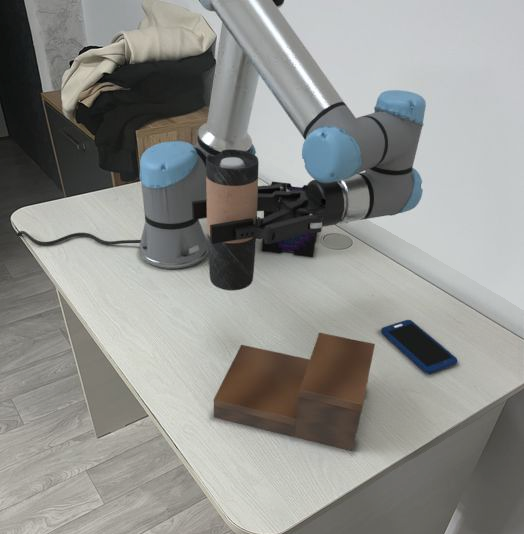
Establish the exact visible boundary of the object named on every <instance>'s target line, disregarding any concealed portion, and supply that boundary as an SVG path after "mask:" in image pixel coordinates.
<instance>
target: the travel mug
mask: <svg viewBox="0 0 524 534" xmlns="http://www.w3.org/2000/svg"><path fill="white" fill-rule="evenodd" d="M258 186H259V158H258V156H257V155H256V154H255V155H254V154H252V153H250V152H247V151H242V150H234V149H228V150H223V151H222V152H221V153H220V154H218V155H215V156H211V155H210V154H209V155H208V156H207V158H206V191H207V218H206V235H207V236H206V237H207V238H206V239H207V244H208V253H207V256H208V269H209V280H210V282H211V284H212V285H213V286H214V287H216V288H217V289H221V290H224V291H240V290H243V289H246V288H248V287H250V286H251V285H252V283H253V281H254V272H255V260H256V259H255V258H256V247H257V239H256V238H255V237H252V238H247V239H241V240H234V241H228V242H222V243H217V244H212V243H211V242H210V225H213V224H219V223H225V222H231V221H238V220H244V219H250V218H252V219H253V220H254V224H255V220H256V216H257V217H258V211H257V199H258Z"/></svg>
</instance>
